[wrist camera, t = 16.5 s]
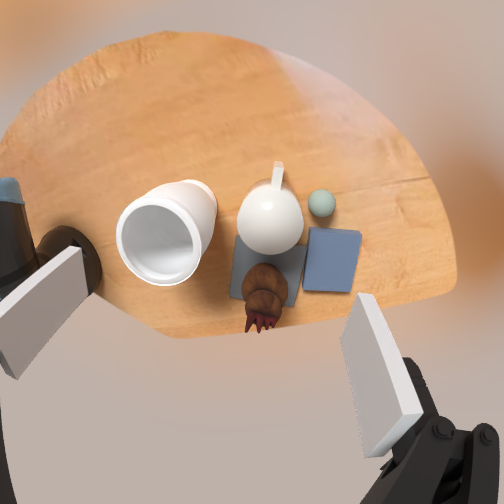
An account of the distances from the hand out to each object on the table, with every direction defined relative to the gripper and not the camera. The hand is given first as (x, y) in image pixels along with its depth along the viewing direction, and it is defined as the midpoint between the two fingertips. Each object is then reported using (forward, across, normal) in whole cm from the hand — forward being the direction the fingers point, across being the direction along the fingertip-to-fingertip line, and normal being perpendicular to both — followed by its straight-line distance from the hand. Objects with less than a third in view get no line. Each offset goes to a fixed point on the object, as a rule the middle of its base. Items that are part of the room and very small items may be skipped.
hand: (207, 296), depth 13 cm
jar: (+32, -9, -6) cm, 34 cm away
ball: (+32, +10, -2) cm, 33 cm away
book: (+32, +14, -11) cm, 37 cm away
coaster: (+32, +4, -15) cm, 35 cm away
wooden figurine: (+31, +4, -15) cm, 35 cm away
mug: (+32, +3, -3) cm, 32 cm away
